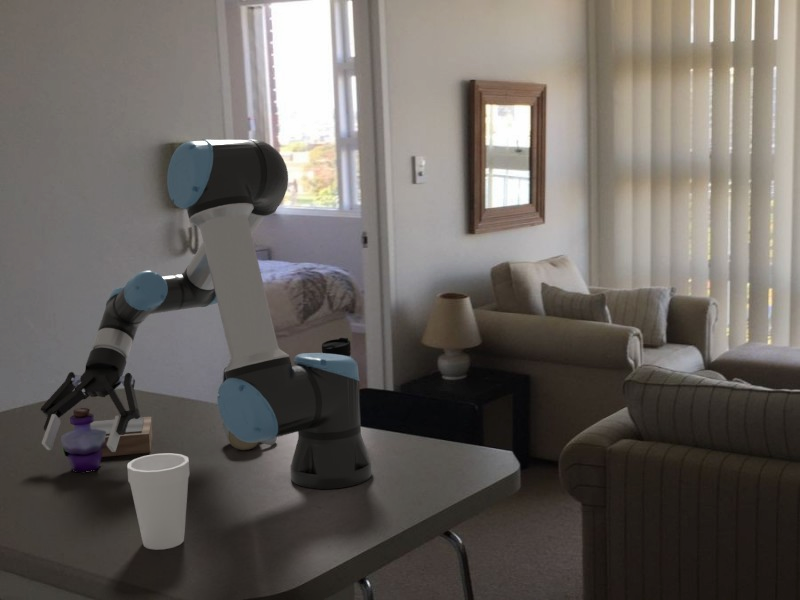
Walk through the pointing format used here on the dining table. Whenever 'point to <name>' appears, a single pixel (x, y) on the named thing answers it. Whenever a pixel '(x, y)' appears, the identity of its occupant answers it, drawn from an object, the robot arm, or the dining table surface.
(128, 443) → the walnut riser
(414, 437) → the dining table surface
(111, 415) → the dining table surface
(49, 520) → the dining table surface
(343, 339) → the travel mug
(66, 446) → the potion bottle
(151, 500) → the foam cup
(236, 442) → the ceramic mug
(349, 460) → the robot arm
